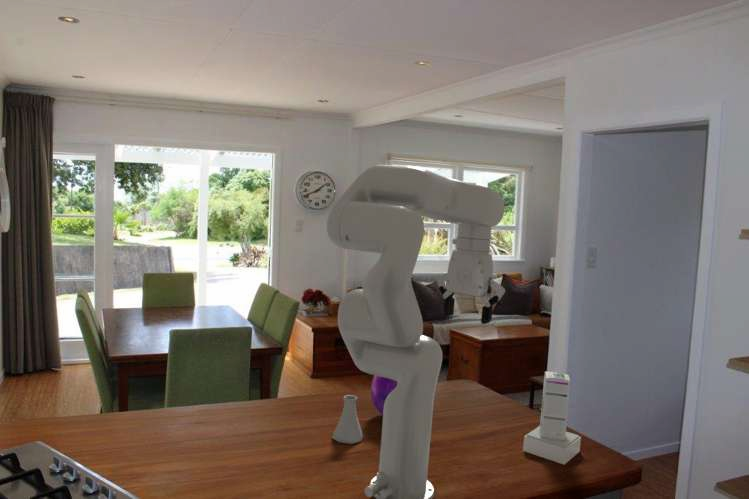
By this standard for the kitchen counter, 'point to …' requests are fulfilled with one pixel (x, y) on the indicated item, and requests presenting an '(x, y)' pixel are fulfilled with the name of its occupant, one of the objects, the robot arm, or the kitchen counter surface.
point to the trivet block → (552, 446)
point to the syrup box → (554, 405)
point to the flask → (348, 423)
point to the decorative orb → (381, 391)
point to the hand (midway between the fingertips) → (466, 319)
